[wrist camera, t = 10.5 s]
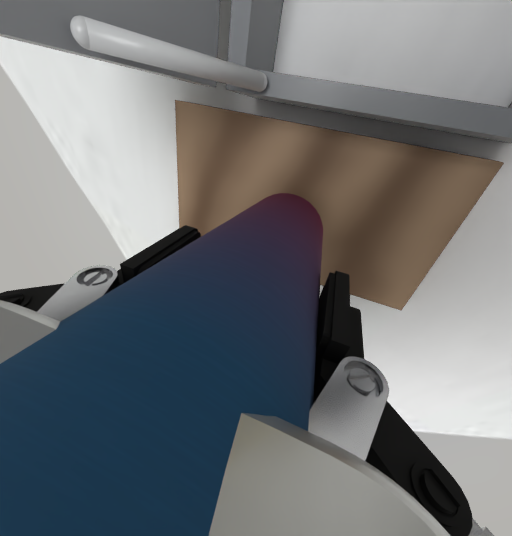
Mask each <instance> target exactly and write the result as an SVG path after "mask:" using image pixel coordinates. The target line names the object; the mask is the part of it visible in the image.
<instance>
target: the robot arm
mask: <svg viewBox="0 0 512 536" xmlns="http://www.w3.org/2000/svg"><path fill="white" fill-rule="evenodd" d="M200 237H201V234H200V232H198V229H197V228H194V227H190V226H187V225H185V226H183V227H181V228H179V229H178V230H176V231H174V232H173V233H171V234H169V235H168V236H166V237H164V238H163V239H161V240H159V241H158V242H156V243H154V244H153V245H151V246H149V247H148V248H146V249H144V250H143V251H141V252H139V253H138V254H136V255H134V256H133V257H131V258H129V259H128V260H126V261H125V262H123V263H121V264H120V266H121V269H120V270H118V271H116V270H115V268H112V267H110V266H104V265H99V266H98V265H97V266H91V267H87V268H84V269H82V270H80V271H78V272H77V273H75V274H74V275H73V276H72V277H71V278H70V279H69V280H68V281H67V282H66V283H65V284H57V285H50V286H42V287H34V288H27V289H19V290H13V291H6V292H3V293H0V364H1V363H2V362H4V361H6V360H7V359H9V358H10V357H12V356H14V355H15V354H17V353H19V352H20V351H22V350H24V349H25V348H27V347H28V346H30V345H32V344H33V343H35V342H37V341H38V340H40V339H41V338H43V337H45V336H46V335H48V334H50V333H51V332H53V331H54V330H56V329H57V327H58V325H59V323H60V322H61V321H62V320H64V319H66V318H67V317H69V316H71V315H72V314H74V313H76V312H77V311H79V310H80V309H82V308H84V307H85V306H87V305H89V304H90V303H92V302H94V301H95V300H97V299H99V298H100V297H102V296H104V295H105V294H107V293H109V292H110V291H112V290H114V289H115V288H117V287H119V286H120V285H122V284H124V283H125V282H127V281H129V280H130V279H132V278H133V277H135V276H137V275H138V274H140V273H142V272H143V271H145V270H147V269H148V268H150V267H152V266H153V265H155V264H157V263H158V262H160V261H162V260H163V259H165V258H167V257H168V256H170V255H172V254H173V253H175V252H177V251H178V250H180V249H182V248H183V247H185V246H186V245H188V244H190V243H191V242H193V241H195V240H196V239H198V238H200ZM388 394H389V387H388V383H387V381H386V379H385V377H384V375H383V374H382V373H381V372H380V370H379V369H378V368H377V367H376V366H374V365H373V364H372V363H370V362H369V361H367V360H365V359H364V351H363V337H362V323H361V312H360V310H359V309H356V308H353V307H350V280H349V274H346V273H343V272H339V271H335V273H331V272H330V273H329V275H328V278H327V280H326V283H325V285H324V288H323V290H322V292H321V295H320V297H319V311H318V328H317V345H316V362H315V379H314V396H313V406H312V408H311V409H310V411H309V426H308V431H306V430H304V429H302V428H300V427H297V426H295V425H293V424H291V423H289V422H287V421H285V420H282V419H280V418H278V417H276V416H264V415H258V414H248V413H241V416H240V420H239V423H238V427H237V431H236V434H235V438H234V441H233V445H232V448H231V452H230V455H229V459H228V463H227V466H226V470H225V474H224V478H223V481H222V485H221V489H220V493H219V497H218V501H217V505H216V509H215V513H214V516H213V520H212V524H211V528H210V532H209V536H494V535H493V534H492V533H491V532H490V531H489V530H488V528H487V527H482V528H480V527H479V525H478V524H477V523H476V522H475V520H474V519H473V518H472V513H471V510H470V507H469V503H468V501H467V499H466V497H465V495H464V493H463V491H462V489H461V488H460V486H459V485H458V483H457V482H456V481H455V479H454V478H453V477H452V475H451V474H450V473H449V472H448V471H447V470H446V469H445V467H444V466H443V465H442V464H441V463H440V462H439V460H438V459H437V458H436V457H435V456H434V455H433V453H431V451H430V450H429V449H428V448H427V447H426V445H425V444H424V443H423V442H422V441H421V440H420V439H419V437H418V436H417V435H416V434H415V433H414V432H413V430H412V429H411V428H410V427H409V426H408V425H407V423H406V422H405V421H404V420H403V419H402V418H401V417H400V415H399V414H398V413H397V412H396V411H395V410H394V408H393V407H392V406H391V405H390V404H389V403H388V402H387V398H388Z"/></svg>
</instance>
